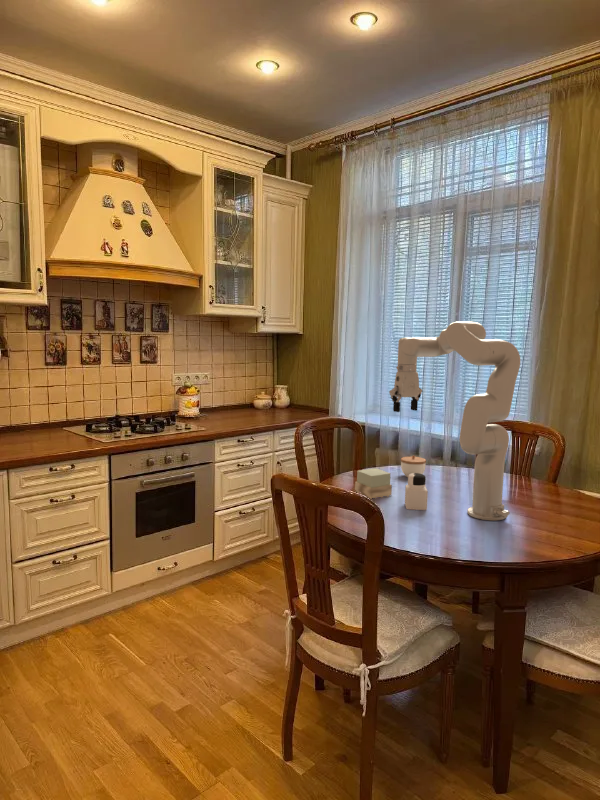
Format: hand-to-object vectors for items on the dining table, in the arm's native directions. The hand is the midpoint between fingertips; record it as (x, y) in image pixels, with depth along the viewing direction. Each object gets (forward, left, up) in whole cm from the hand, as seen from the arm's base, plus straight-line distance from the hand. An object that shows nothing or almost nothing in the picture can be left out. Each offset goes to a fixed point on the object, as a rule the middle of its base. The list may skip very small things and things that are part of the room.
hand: (405, 410), depth 225 cm
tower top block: (-5, +19, -27) cm, 33 cm away
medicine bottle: (-25, +15, -31) cm, 43 cm away
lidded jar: (+9, -13, -31) cm, 34 cm away
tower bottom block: (-5, +19, -31) cm, 37 cm away
